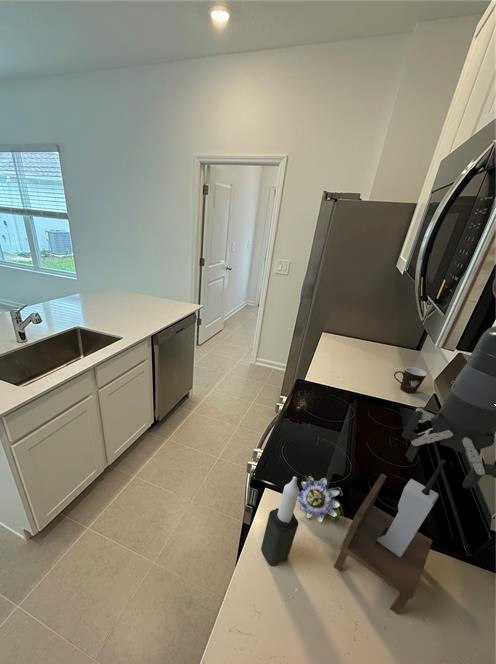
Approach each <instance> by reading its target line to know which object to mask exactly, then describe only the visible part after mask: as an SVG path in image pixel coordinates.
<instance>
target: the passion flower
mask: <svg viewBox="0 0 496 664" xmlns="http://www.w3.org/2000/svg"><path fill="white" fill-rule="evenodd" d="M304 478H305V481H301V482H300V483H301V486H302V490H301V491H299V495H298V498H297V501H298V502H299V504H300V505H299V510H300V511H304V512H305V518H306V519H311V518H312V517H313V516H315V517H316V520H317V521H318V522H319V523H322V522H323V521H324V519H325V516H326V515H329V516H331V517H332V518H334V521H335V522H336V521H337V522H338V521H340V520H341V517H344V508H343V505H342V503H341V502H340V501H339V500H338V499H337V498H336V497H337V496H338V495H340V497H343V496H344V493H343V491H342V488H341V487H339V486H338V487H332V488H328V487H327V485H328V479H327V478H326V477H322V478H320V480H315V479H314V478H313V477H312V476H310V475H309V476H307V475H304ZM337 489H338V490H337Z"/></svg>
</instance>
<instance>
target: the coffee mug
mask: <svg viewBox="0 0 496 664" xmlns="http://www.w3.org/2000/svg"><path fill="white" fill-rule="evenodd" d="M398 373H400V374H402V379H401V381H400V380H399V379H398V378H397V377H396V375H397V374H398ZM427 375H428V373H427V372H426V371H425V370H423V369H420V368H419V367H414V366H407V367H405V368H404V372H403V371H401V370H397V371H395V372H394V373H393V377H394V379H395V380H396V381H397V382H398V383H399V384H400V387H399V389H400V390H401V391H402V392H404V393H406V394H411V395H414V394H416V392H417V391H418V389H419V388H420V386H421V384H422V383H423V381H424V380H425V379H426V377H427Z"/></svg>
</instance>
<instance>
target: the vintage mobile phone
mask: <svg viewBox="0 0 496 664" xmlns="http://www.w3.org/2000/svg"><path fill="white" fill-rule="evenodd" d="M446 463H447V460H445V459H441V461H440V463H439V464H438V466H437V468H436V470H435V471H434V473H433V475H432V476H431V477H430V479H429V480H428V481H427V484H426V485H424V484H422V483H420V482H418V481H416V480H414V479H413V478H410V480H409V481H408V482H407V483H406V485H404V488H403V491H402V493H401V496H400V497H399V498H400V499H399V501H398V504H397V509H398V512H397V513H396V516H395V517H394V518H395V519H394V521H393V522H392V524H391V526H389V527H386V528H384V530H383V531H382V533H381V534H380V535H379V537H378V539H377V541H378V542H379V543H380V544H382V545H383V546H385V547H386V548H387V549H389V550H390V551H392V552H393V553H394V554H396V555H397V556H399V557H401V556H402V555H403V553H404V551H405V550H406V548H407V547H408V545H409V543H410V542H411V540H412V539H413V537H414V535H415V534H416V532H419V529H420V528H421V526H422V524H424V522H425V520H426V518H427V517H428V515H429V514H430V511H431V510H432V508H433V507H434V505H435V504H436V502H437V500H438V499H439V496H440V495H439V493H438V492H436V491H434V490H432V488H433V486H434V484H435V483H436V480H437V478H438V476H439V475H440V473H441V471H442V470H443V468H444V466H445V464H446Z"/></svg>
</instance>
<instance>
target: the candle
mask: <svg viewBox="0 0 496 664" xmlns="http://www.w3.org/2000/svg"><path fill="white" fill-rule="evenodd" d="M297 481H298V477H297V476H294V475H293V476H292V479H291V481H290V482H288V483H286V484H285V485H284V487H283V491H282V495H281V499H280V502H279V503H280V504H279V506H278V508H277V507H276V508H275V509H273V510H270V511H269V513H268V518H267V522H266V525H265V529H264V534H263V539H262V543H261V547H260V551H261V553H262V555H263V557H264V558H265V561H266V562H267V564H268V565H269V566H271V567H275V566H276V565H278V564H281V563H286V562H287V561H288V558H289V556H290V552H291V550H292V546H293V543H294V540H295V536H296V533H297V531H298V527H299V521H298V518H297V517H296V515H295V513H294V511H295V507H296V504H297V502H298V500H297V498H298V495H299V492H300V488H299V487H298V483H297Z"/></svg>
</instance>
